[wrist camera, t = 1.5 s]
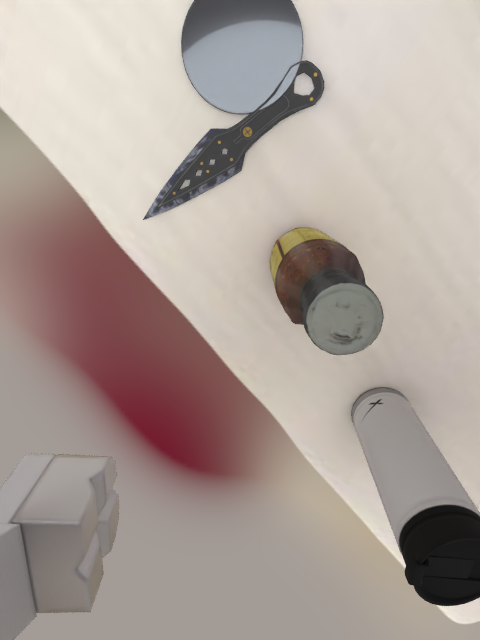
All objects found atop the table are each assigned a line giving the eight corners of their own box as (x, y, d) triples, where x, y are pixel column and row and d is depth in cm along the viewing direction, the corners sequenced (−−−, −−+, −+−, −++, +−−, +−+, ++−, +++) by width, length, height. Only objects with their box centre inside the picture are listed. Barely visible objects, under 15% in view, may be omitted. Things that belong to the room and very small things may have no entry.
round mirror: (315, -12, 33) (316, -14, 33) (287, 124, 37) (287, 124, 36) (191, -38, 33) (190, -40, 33) (174, 101, 36) (173, 101, 36)
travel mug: (353, 383, 45) (422, 537, 26) (415, 390, 44) (529, 550, 26) (342, 432, 47) (398, 609, 28) (401, 440, 47) (497, 621, 28)
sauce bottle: (304, 301, 42) (340, 406, 23) (256, 262, 41) (252, 339, 22) (350, 250, 40) (429, 319, 21) (300, 208, 39) (338, 241, 20)
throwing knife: (333, 95, 36) (334, 93, 35) (158, 237, 40) (157, 238, 40) (304, 48, 35) (305, 46, 34) (128, 200, 39) (126, 201, 39)
